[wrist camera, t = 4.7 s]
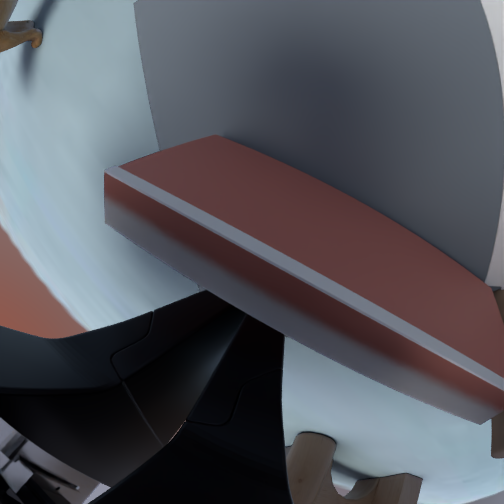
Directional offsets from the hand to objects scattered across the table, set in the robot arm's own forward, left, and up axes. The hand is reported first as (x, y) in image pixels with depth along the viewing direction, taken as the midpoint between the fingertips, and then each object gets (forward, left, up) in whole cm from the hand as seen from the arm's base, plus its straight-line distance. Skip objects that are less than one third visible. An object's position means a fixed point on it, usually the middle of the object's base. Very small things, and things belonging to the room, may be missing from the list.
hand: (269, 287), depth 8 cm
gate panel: (-2, -1, -1) cm, 3 cm away
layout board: (-6, -3, -2) cm, 7 cm away
